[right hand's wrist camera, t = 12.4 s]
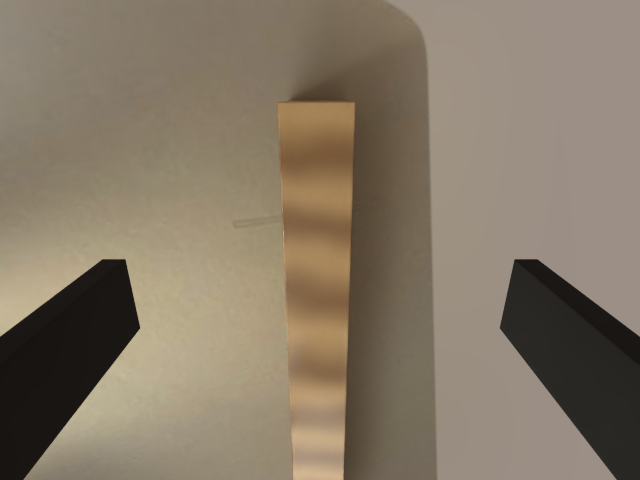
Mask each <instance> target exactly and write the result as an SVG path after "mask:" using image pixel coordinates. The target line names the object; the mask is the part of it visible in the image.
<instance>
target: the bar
mask: <svg viewBox="0 0 640 480" xmlns="http://www.w3.org/2000/svg"><path fill="white" fill-rule="evenodd" d="M277 105H278V128H279V152H280V175H281V199H282V222H283V246H284V269H285V293H286V317H287V340H288V364H289V387H290V411H291V434H292V458H293V480H344V455H345V423H346V391H347V359H348V327H349V295H350V263H351V231H352V199H353V167H354V135H355V102H352V101H347V100H289V101H283V102H278V103H277Z"/></svg>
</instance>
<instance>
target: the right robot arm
mask: <svg viewBox="0 0 640 480" xmlns="http://www.w3.org/2000/svg"><path fill="white" fill-rule="evenodd" d="M139 329H140V325H139V320H138V316H137V311H136V306H135V302H134V297H133V293H132V288H131V283H130V279H129V274H128V269H127V265H126V260H125V259H103V260H101V261H100V262H99V263H97V264H96V265H95V266H93V267H92V268H91V269H89V270H88V271H87V272H85V273H84V274H83V275H81V276H80V277H79V278H77V279H76V280H75V281H73V282H72V283H71V284H69V285H68V286H67V287H65V288H64V289H63V290H62V291H60V292H59V293H58V294H56V295H55V296H54V297H52V298H51V299H50V300H48V301H47V302H46V303H44V304H43V305H42V306H40V307H39V308H38V309H36V310H35V311H34V312H32V313H31V314H30V315H28V316H27V317H26V318H24V319H23V320H22V321H20V322H19V323H18V324H16V325H15V326H14V327H13V328H11V329H10V330H9V331H7V332H6V333H5V334H3V335H2V336H1V337H0V480H23V479H24V478H25V477H26V475H27V474H28V473H29V472H30V470H31V469H32V468H33V466H34V465H35V464H36V463H37V461H38V460H39V459H40V457H41V456H42V455H43V453H44V452H45V451H46V450H47V448H48V447H49V446H50V444H51V443H52V442H53V440H54V439H55V438H56V437H57V435H58V434H59V433H60V431H61V430H62V429H63V428H64V426H65V425H66V424H67V422H68V421H69V420H70V418H71V417H72V416H73V415H74V413H75V412H76V411H77V409H78V408H79V407H80V406H81V404H82V403H83V402H84V400H85V399H86V398H87V396H88V395H89V394H90V393H91V391H92V390H93V389H94V387H95V386H96V385H97V383H98V382H99V381H100V380H101V378H102V377H103V376H104V374H105V373H106V372H107V371H108V369H109V368H110V367H111V365H112V364H113V363H114V361H115V360H116V359H117V358H118V356H119V355H120V354H121V352H122V351H123V350H124V348H125V347H126V346H127V345H128V343H129V342H130V341H131V339H132V338H133V337H134V336H135V334H136V333H137V332H138V330H139ZM500 329H501V330H502V332H503V333H504V334H505V336H506V337H507V338H508V339H509V341H510V342H511V343H512V345H513V346H514V347H515V348H516V350H517V351H518V352H519V354H520V355H521V356H522V358H523V359H524V360H525V361H526V363H527V364H528V365H529V367H530V368H531V369H532V370H533V372H534V373H535V374H536V376H537V377H538V378H539V380H540V381H541V382H542V383H543V385H544V386H545V387H546V389H547V390H548V391H549V393H550V394H551V395H552V396H553V398H554V399H555V400H556V402H557V403H558V404H559V405H560V407H561V408H562V409H563V411H564V412H565V413H566V415H567V416H568V417H569V418H570V420H571V421H572V422H573V424H574V425H575V426H576V428H577V429H578V430H579V431H580V433H581V434H582V435H583V437H584V438H585V439H586V440H587V442H588V443H589V444H590V446H591V447H592V448H593V450H594V451H595V452H596V453H597V455H598V456H599V457H600V459H601V460H602V461H603V462H604V464H605V465H606V466H607V468H608V469H609V470H610V472H611V473H612V474H613V475H614V477H615V478H616V479H617V480H640V337H639V336H638V335H637V334H635V333H634V332H633V331H631V330H630V329H629V328H627V327H626V326H625V325H623V324H622V323H621V322H619V321H618V320H617V319H615V318H614V317H613V316H612V315H610V314H609V313H608V312H606V311H605V310H604V309H602V308H601V307H600V306H598V305H597V304H596V303H594V302H593V301H592V300H590V299H589V298H588V297H586V296H585V295H584V294H582V293H581V292H580V291H578V290H577V289H576V288H574V287H573V286H572V285H571V284H569V283H568V282H567V281H565V280H564V279H563V278H561V277H560V276H559V275H557V274H556V273H555V272H553V271H552V270H551V269H549V268H548V267H547V266H545V265H544V264H543V263H541V262H540V261H539V260H537V259H515V260H514V265H513V270H512V274H511V279H510V283H509V288H508V293H507V297H506V302H505V306H504V311H503V316H502V320H501V325H500Z"/></svg>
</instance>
